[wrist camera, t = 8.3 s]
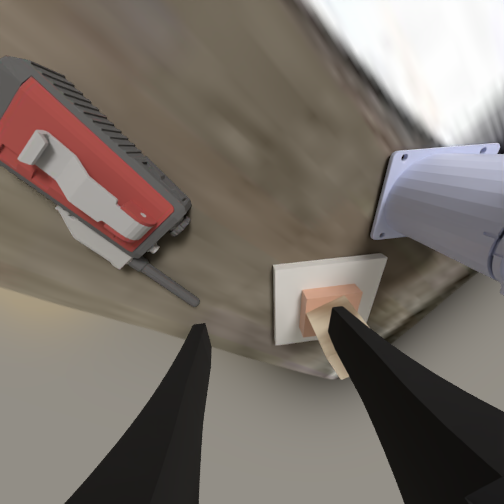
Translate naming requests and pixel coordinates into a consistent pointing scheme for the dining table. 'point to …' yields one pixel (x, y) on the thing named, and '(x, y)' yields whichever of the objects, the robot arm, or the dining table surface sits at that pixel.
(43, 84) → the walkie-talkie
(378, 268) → the base plate
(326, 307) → the birch block
